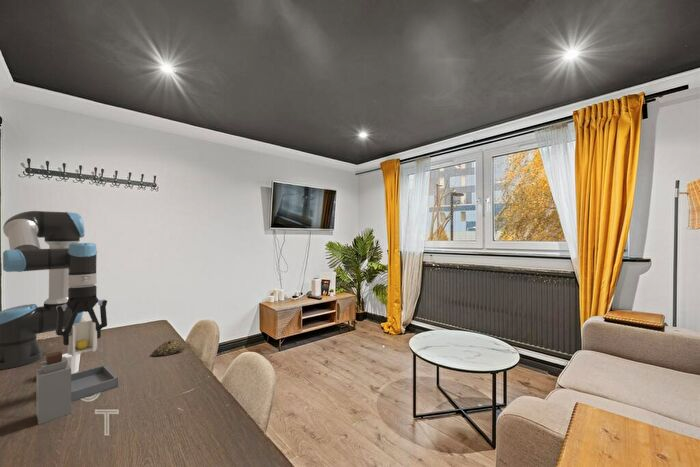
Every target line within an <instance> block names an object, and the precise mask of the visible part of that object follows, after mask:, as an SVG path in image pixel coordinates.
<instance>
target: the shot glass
mask: <svg viewBox="0 0 700 467" xmlns="http://www.w3.org/2000/svg"><path fill="white" fill-rule="evenodd" d="M81 354H82V353H79V354H75V356H72V355H69V354H68V352H66V353H62V357H66V359H67V360H68V362H67V363H68V364H69V366H70V367H71V374H73V373H76V372H79V368H80V363H81V362H80V359H81Z"/></svg>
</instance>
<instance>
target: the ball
mask: <svg viewBox="0 0 700 467" xmlns="http://www.w3.org/2000/svg"><path fill="white" fill-rule="evenodd" d="M87 346H88V341H87V340H80V341H79V342H78V343H77V345H76V347H77V348H78V349H84V348H86V347H87Z"/></svg>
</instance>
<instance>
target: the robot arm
mask: <svg viewBox="0 0 700 467" xmlns="http://www.w3.org/2000/svg"><path fill="white" fill-rule="evenodd" d="M2 228H3V229H2V230H3V233H4V235H5V236H6V237H7V238H8V244H9V249H6V250H4V251H3V252H2V271H4V272H7V273H11V272H13V273H14V272H18V273H20V272H21V273H22V272H34V271H47V270H48V298H47V299H46V300H44V301H43V305H42V306H38V305H37V304H36V303H31V304H30V303H29V304H24V305H23V304H22V305H18V306H14V307H10V308H6V309H3V310H0V370H7V369H12V368H19V367H22V366H26V365H28V364H33V363H35V362H37V361H39V360H40V359H42V357H43V351H42V348H41V346H40V345H39V343H38V340H37V335H38V334H44V333H49V332H54V331H55V335H57V336H60V337H61V336H63V337H62V340H63V343H62V344H63V346H67V353H68V354H69V355H71V354H72V335H71V334H70V331H71V328H72V326H73V324H74V323H80V322H82V319H83V315H84V313H88V315H89V317H90V319H91V320H92V321H93V322H95V323H96V350H97V349H98V339H101V337H102V336H101V333H102V332H101V330H102V329H104V328H105V327H106V328H107V326H108V319H107V308H106V307H107V304H108V300H106V299H98V297H97V287H98V286H97V285H96V284H97V254H98V250H97V244H96V243H95V242H80V240H81V239H82V238H84V237H85V225H84V221H83V219H82V216H81V215H80V214H79V213H77V212H70V211H69V212H68V211H63V212H62V211H46V210H45V211H42V210H30V211H24V212H20V213H17V214H15V215H13V216H11V217H10V218H8V219H7V220H6V221H5V222H4V224H3V227H2ZM39 238H44V243H46V244H47V245H48V246H49V248H42V247H41V245H40V242H39ZM80 238H81V239H80ZM97 304H98V305H99V312H100V314H99V315H100V322H99V320H98V317H97V316H96V313H95V310H94V307H95V306H96V305H97Z"/></svg>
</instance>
